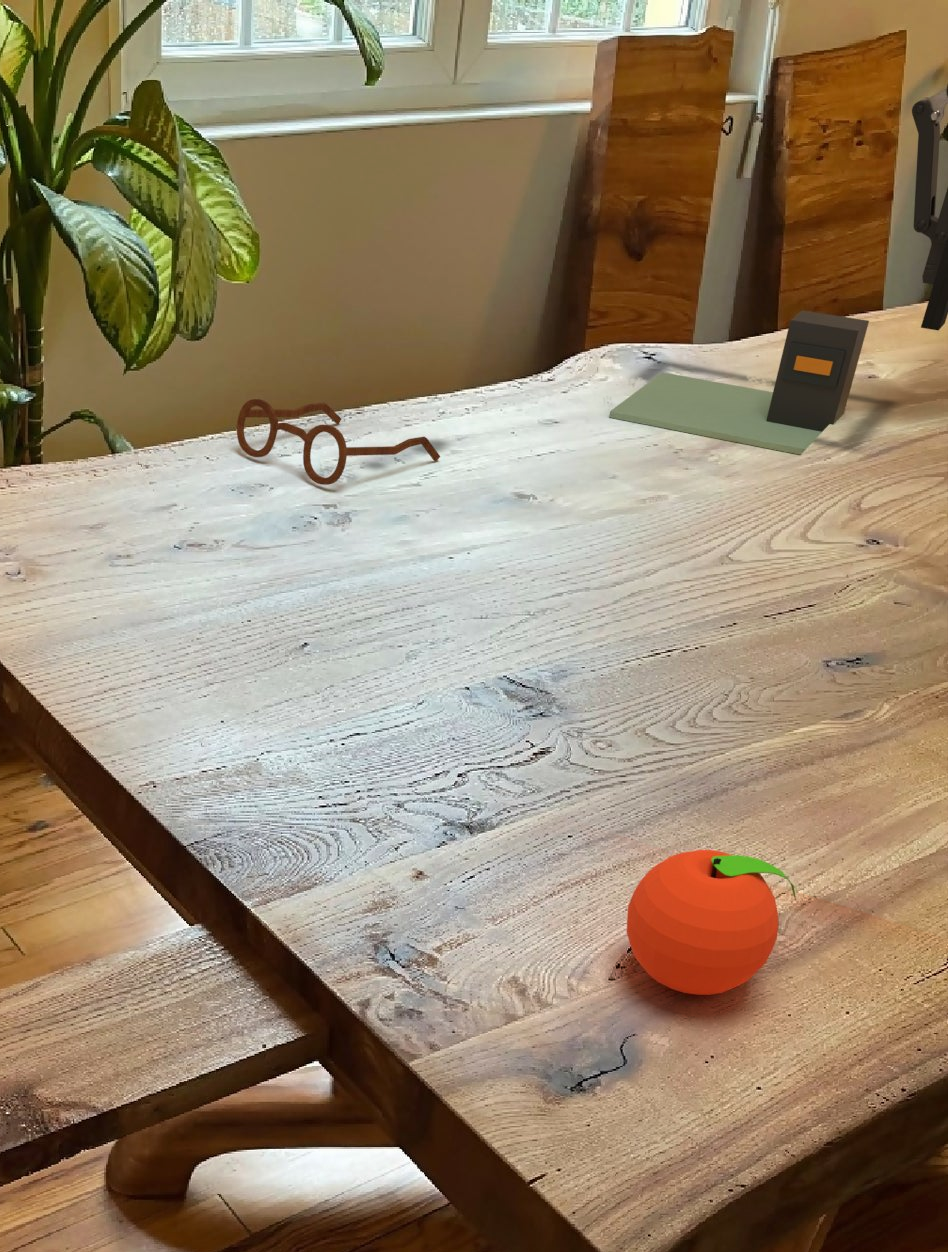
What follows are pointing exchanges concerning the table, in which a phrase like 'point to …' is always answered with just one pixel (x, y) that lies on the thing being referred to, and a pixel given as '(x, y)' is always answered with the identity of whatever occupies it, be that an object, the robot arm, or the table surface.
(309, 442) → the glasses
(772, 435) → the mat
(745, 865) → the clementine
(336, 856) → the table surface
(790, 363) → the clock
